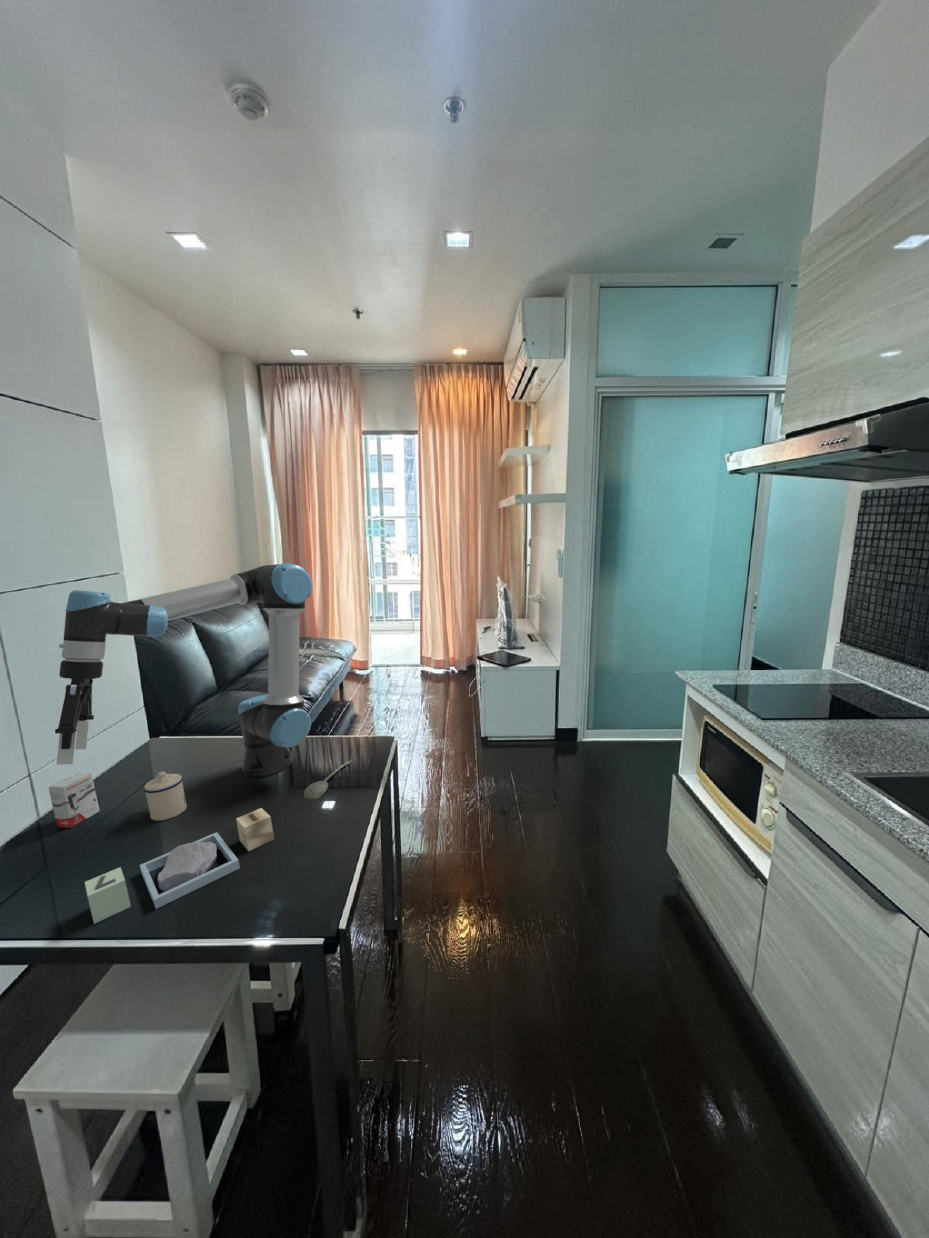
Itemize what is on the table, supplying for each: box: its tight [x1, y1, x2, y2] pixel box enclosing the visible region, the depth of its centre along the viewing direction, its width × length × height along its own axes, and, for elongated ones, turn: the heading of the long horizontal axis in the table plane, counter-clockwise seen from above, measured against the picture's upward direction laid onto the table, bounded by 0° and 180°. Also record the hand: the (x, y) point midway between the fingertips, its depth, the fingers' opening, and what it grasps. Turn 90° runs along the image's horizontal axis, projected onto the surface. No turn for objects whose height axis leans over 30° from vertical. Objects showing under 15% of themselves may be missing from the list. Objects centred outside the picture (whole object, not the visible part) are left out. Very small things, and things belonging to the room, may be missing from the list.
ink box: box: [48, 772, 101, 829], centre depth 134 cm, size 9×5×12 cm, turn 168°
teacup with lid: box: [143, 771, 188, 822], centre depth 134 cm, size 12×9×12 cm
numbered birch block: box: [235, 807, 275, 852], centre depth 117 cm, size 6×6×6 cm
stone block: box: [157, 841, 218, 893], centre depth 108 cm, size 12×5×10 cm
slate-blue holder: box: [139, 831, 241, 910], centre depth 108 cm, size 16×16×2 cm
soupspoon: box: [303, 759, 353, 800], centre depth 145 cm, size 22×3×7 cm
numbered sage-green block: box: [84, 866, 132, 925], centre depth 98 cm, size 6×6×6 cm
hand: (72, 756), depth 108 cm, fingers open, 13 cm apart
